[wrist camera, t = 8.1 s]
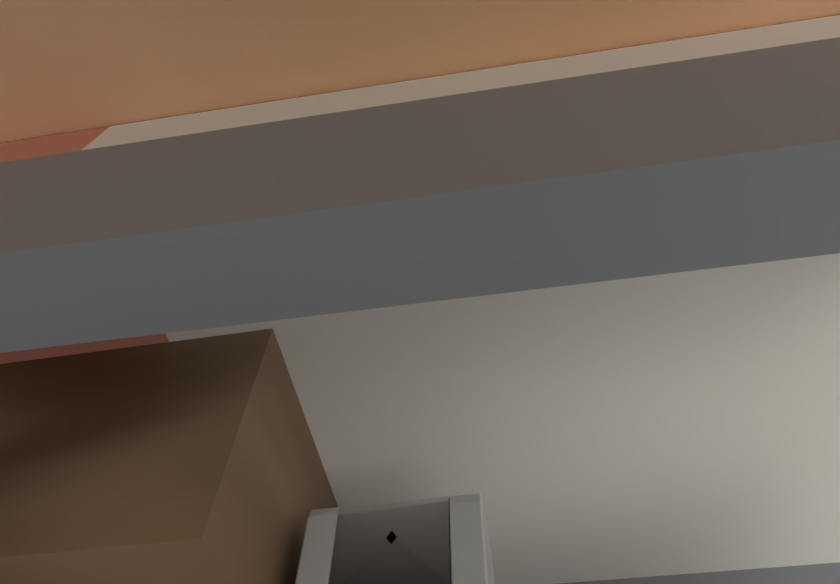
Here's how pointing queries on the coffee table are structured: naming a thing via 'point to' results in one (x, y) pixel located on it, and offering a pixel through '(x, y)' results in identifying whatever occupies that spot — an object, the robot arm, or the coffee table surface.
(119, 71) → the coffee table surface
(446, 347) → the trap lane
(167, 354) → the walnut block
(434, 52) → the coffee table surface
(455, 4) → the coffee table surface
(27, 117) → the coffee table surface
